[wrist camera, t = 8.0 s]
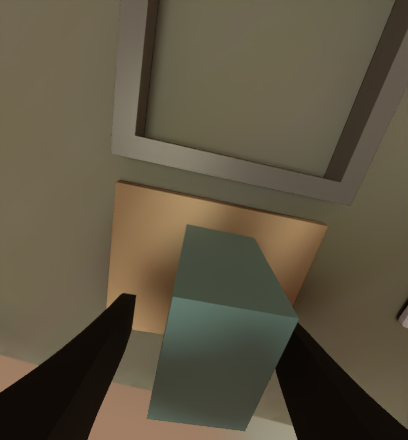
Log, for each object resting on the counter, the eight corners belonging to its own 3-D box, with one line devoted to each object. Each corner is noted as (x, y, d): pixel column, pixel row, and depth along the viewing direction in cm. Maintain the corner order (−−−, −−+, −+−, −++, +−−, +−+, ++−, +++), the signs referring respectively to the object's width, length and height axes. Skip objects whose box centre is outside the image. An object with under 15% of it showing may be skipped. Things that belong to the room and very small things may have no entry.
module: (254, 237, 12) (299, 318, 7) (227, 317, 14) (244, 431, 9) (186, 224, 12) (172, 296, 6) (169, 307, 14) (146, 418, 8)
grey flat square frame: (447, -63, 8) (496, -105, 7) (333, 198, 12) (350, 205, 11) (148, -166, 7) (135, -238, 6) (122, 152, 11) (110, 153, 10)
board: (322, 222, 13) (328, 226, 12) (269, 343, 16) (272, 351, 15) (120, 180, 12) (116, 181, 11) (108, 318, 15) (105, 325, 14)
